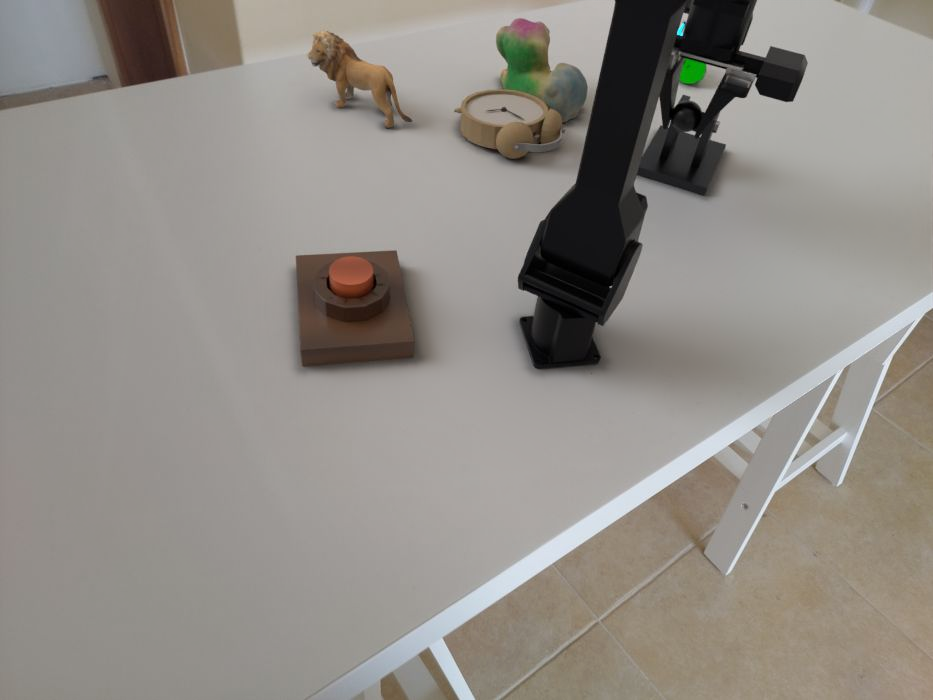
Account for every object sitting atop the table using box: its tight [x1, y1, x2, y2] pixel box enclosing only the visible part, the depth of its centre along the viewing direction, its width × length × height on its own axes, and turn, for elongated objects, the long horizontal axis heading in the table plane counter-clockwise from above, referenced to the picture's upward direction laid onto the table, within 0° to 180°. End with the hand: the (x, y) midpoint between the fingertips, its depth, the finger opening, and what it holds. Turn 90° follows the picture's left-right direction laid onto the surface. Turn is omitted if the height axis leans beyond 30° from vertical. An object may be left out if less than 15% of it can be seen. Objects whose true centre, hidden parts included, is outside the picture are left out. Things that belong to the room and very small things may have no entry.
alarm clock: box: [453, 88, 566, 160], centre depth 94 cm, size 11×5×15 cm
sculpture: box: [495, 17, 588, 123], centre depth 100 cm, size 15×8×10 cm, turn 46°
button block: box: [295, 249, 415, 367], centre depth 69 cm, size 13×10×4 cm
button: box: [329, 256, 374, 299], centre depth 67 cm, size 4×4×2 cm
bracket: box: [636, 94, 727, 197], centre depth 92 cm, size 12×9×8 cm
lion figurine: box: [306, 30, 413, 129], centre depth 94 cm, size 15×5×9 cm, turn 66°
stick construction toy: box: [677, 20, 707, 85], centre depth 113 cm, size 12×7×8 cm
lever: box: [670, 100, 705, 133], centre depth 84 cm, size 17×3×3 cm, turn 155°
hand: (681, 132), depth 79 cm, fingers closed on lever, 3 cm apart
